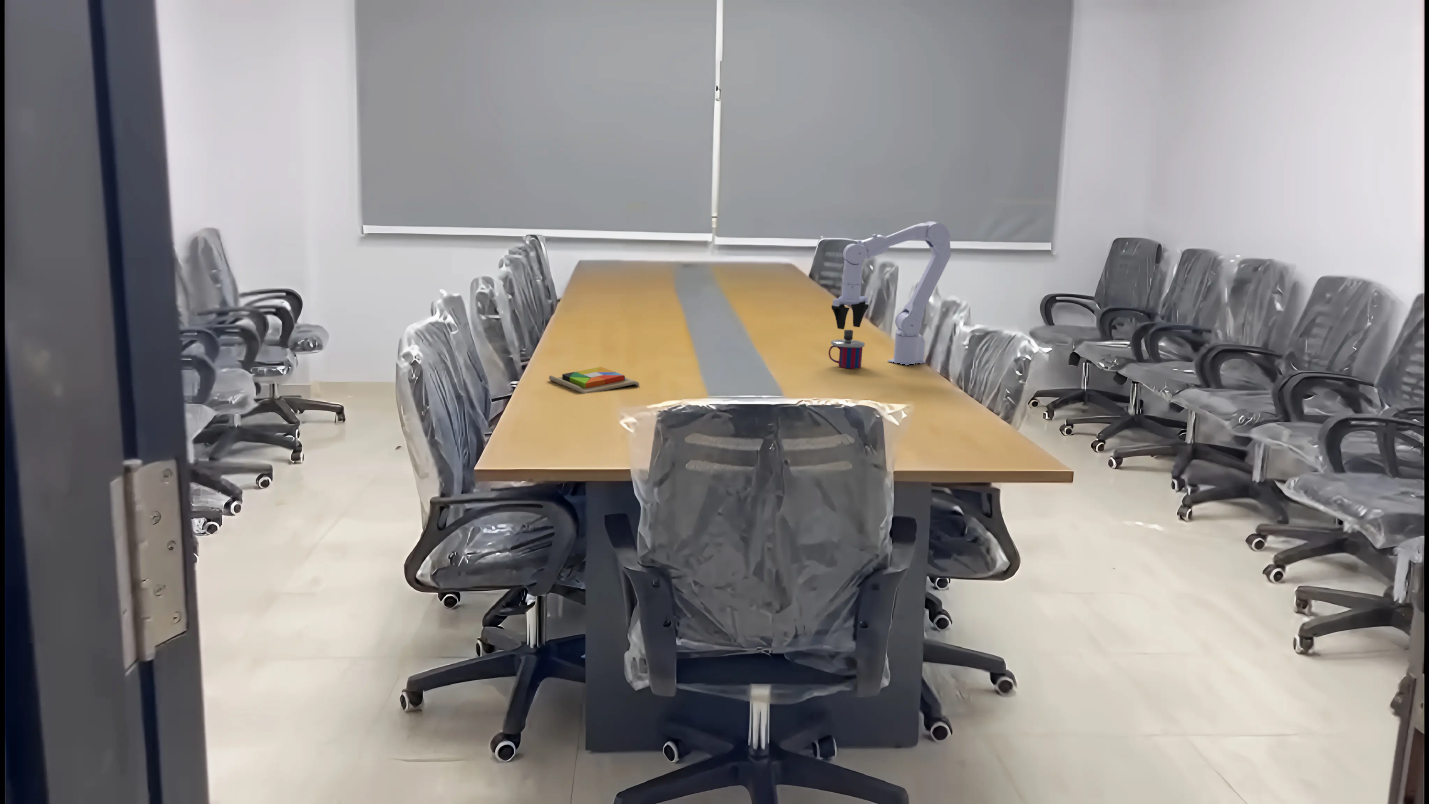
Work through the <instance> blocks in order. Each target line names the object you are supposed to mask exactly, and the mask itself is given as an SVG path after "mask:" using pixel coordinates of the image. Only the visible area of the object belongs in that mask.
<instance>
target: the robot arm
mask: <svg viewBox="0 0 1429 804" xmlns="http://www.w3.org/2000/svg"><path fill="white" fill-rule="evenodd" d="M951 237H952V236H951V233H950V231H949V229H948V227H947V226H946V225H945V223H941V222H937V221H934V220H929V221H926V222H921V223H917V224H914V225H911V226H908V227H906V228H904V229H902V230H899V231H897V232H894V233H892V234H889V235H886V236H884V235H882V234H876V233H873V234H871V237H869V238H865V239H863V240H860V239H859V240H856V243H857V244H856V243H850V244H847V245H846V247H844V249H843V252H842V258H843V259H844V261H843V262H844V263H843V269H842V270H843V271H842V286H841V296H838V298H833V299H832V304H831V310H832V311H833V314H834V317H835V321H836V326H837V329H838V330H845V327H846V322H847V321H846V320H847V315H848V312H849V311H850V307H846V306H848V305H849V306H850V305H851V310H852V326H853V327H854V328H861V324H862V321H863V319H864V316H865V314H866V312H867V310H868V309H869V307H870V306H869V305H870V304H869V303H868V301H869V297H868V296H865V295H863V296H861V293H862V277H863V262H864V261H865V260H869V259H872V258H874V257H877V256H879V255H882V254H884V253H887V252H888V249H889V247H893V246H896V245H898V244H901V243H904V242H908V241H911V240H914V239H915V240H922V241H924V242H926V244H927V245H928V247H929V250H930V252H931V257H930V259H929V261H928V262H927V263H928V264H927V265H926V267H925V269H924V271H923V273H922V276H921V277H920V280H919V281H918V283H917V286H916V288H915V289H914V292H913V294H912V295H911V298H910V299H909V301H908V302H907V304H905V305H904V307H903V309H902V310H901V311H900V312H899V313H898V314H897V315H896V317H895V319H894V322H895V325H896V328H897V330H896V331H895V335H894V336H895V337H894V338H895V339H894V348H893V349H894V350H893V351H894V352H893V358H892V359H887V362H888V361H889V362H890V363H893V362H894V363H893V364H897V363H900V364H899V365H902V364H905V365H904V366H907V365H909V364H914V365H916V364H915V363H920V364H925V363H926V360H924V357H925V346H926V341H925V339H924V337H923V335H922V334H920V331H921V329H922V326H923V325H922V324H923V323H922V322H923V319H924V316H925V308H926V306H927V305H928V303H929V300H930V298H931V297H932V295H933V292H934V290H935V288H936V287H937V285H938V283H939V281H940V278H941V276H942V275H943V272H944V270H945V269H946V266H947V264H948V263H949V260H950V258H951V256H952V254H951ZM909 366H910V365H909Z"/></svg>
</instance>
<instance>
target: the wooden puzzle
mask: <svg viewBox="0 0 1429 804" xmlns="http://www.w3.org/2000/svg"><path fill="white" fill-rule="evenodd" d="M548 379H549V381H550V382H554V383H555V384H558V385H561V386H564V387H566V388H568V389H570V390H573V391H576V392H577V393H581V394H589V393H590V394H591V393H596V392H597V393H598V392H604V391H608V390H613V389H619V388H624V387H627V386H635V387H640V382H639V381H636V380H633V379H631V378H628V377H626V376H625V375H624V374H622V373H619V372H616V371H615V370H614V371H613V370H611V369H608V368H605V367H603V366H598V367H593V368H588V369H587V368H586V369H582V370H578V371H572V372H566V373H562V374H561V376H559V377H557V376H554V375H549V376H548Z"/></svg>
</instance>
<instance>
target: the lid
mask: <svg viewBox="0 0 1429 804" xmlns="http://www.w3.org/2000/svg"><path fill="white" fill-rule="evenodd" d="M843 330H844V332H843V339H833V340H831V341H830V345H831V346H838V347H847V348H859V347H862V348H863V347H865V342H864V341H861V340H856V339H853V336H854V330H852V329H843Z"/></svg>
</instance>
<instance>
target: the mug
mask: <svg viewBox="0 0 1429 804" xmlns="http://www.w3.org/2000/svg"><path fill="white" fill-rule="evenodd" d="M833 348H837V349H838V350H839V357H838V360H836V359H834V358H832V355H831V351H832V349H833ZM862 356H863V347H859V348H847V347H838V346H834V345H831V346H830V347H829V350H828V357H829V359H830V360H831V361H832V362H834V363H837V364H838V366H839V367H840V368H842V369H848V368H849V369H848V370H850V369H851V370H855V369H854V368H858V369H861V368H860V367H862V361H863V360H862V358H863V357H862Z"/></svg>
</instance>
